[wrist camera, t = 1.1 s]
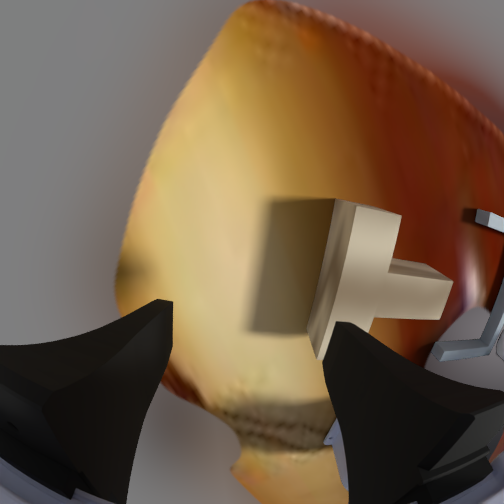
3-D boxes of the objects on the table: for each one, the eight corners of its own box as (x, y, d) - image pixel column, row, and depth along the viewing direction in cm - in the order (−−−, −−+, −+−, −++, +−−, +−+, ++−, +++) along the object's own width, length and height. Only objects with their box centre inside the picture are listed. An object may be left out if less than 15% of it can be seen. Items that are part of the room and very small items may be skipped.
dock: (480, 347, 22) (489, 354, 21) (430, 351, 22) (439, 361, 20) (521, 228, 18) (532, 232, 17) (477, 208, 18) (490, 212, 16)
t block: (401, 333, 21) (421, 358, 17) (306, 328, 21) (316, 359, 17) (435, 221, 18) (466, 233, 15) (335, 198, 18) (356, 205, 14)
